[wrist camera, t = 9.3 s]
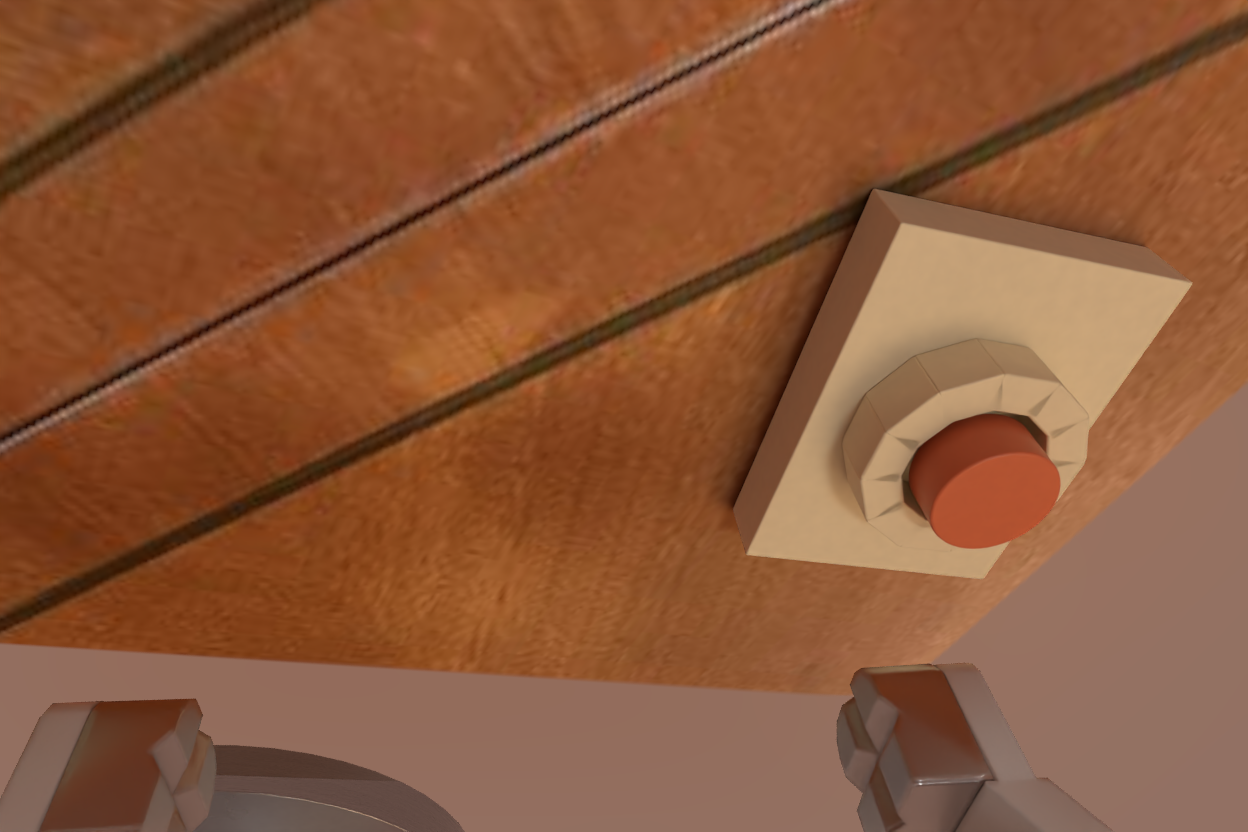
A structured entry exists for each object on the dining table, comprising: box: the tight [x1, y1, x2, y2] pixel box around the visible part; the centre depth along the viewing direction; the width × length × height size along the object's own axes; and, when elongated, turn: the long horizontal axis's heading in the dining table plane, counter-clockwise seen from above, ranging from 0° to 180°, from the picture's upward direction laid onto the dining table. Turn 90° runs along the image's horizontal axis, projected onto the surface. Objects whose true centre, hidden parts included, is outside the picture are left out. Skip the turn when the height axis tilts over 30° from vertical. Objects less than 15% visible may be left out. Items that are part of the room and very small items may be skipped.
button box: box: [733, 189, 1192, 579], centre depth 26 cm, size 12×9×4 cm
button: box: [909, 414, 1061, 549], centre depth 24 cm, size 4×4×2 cm
